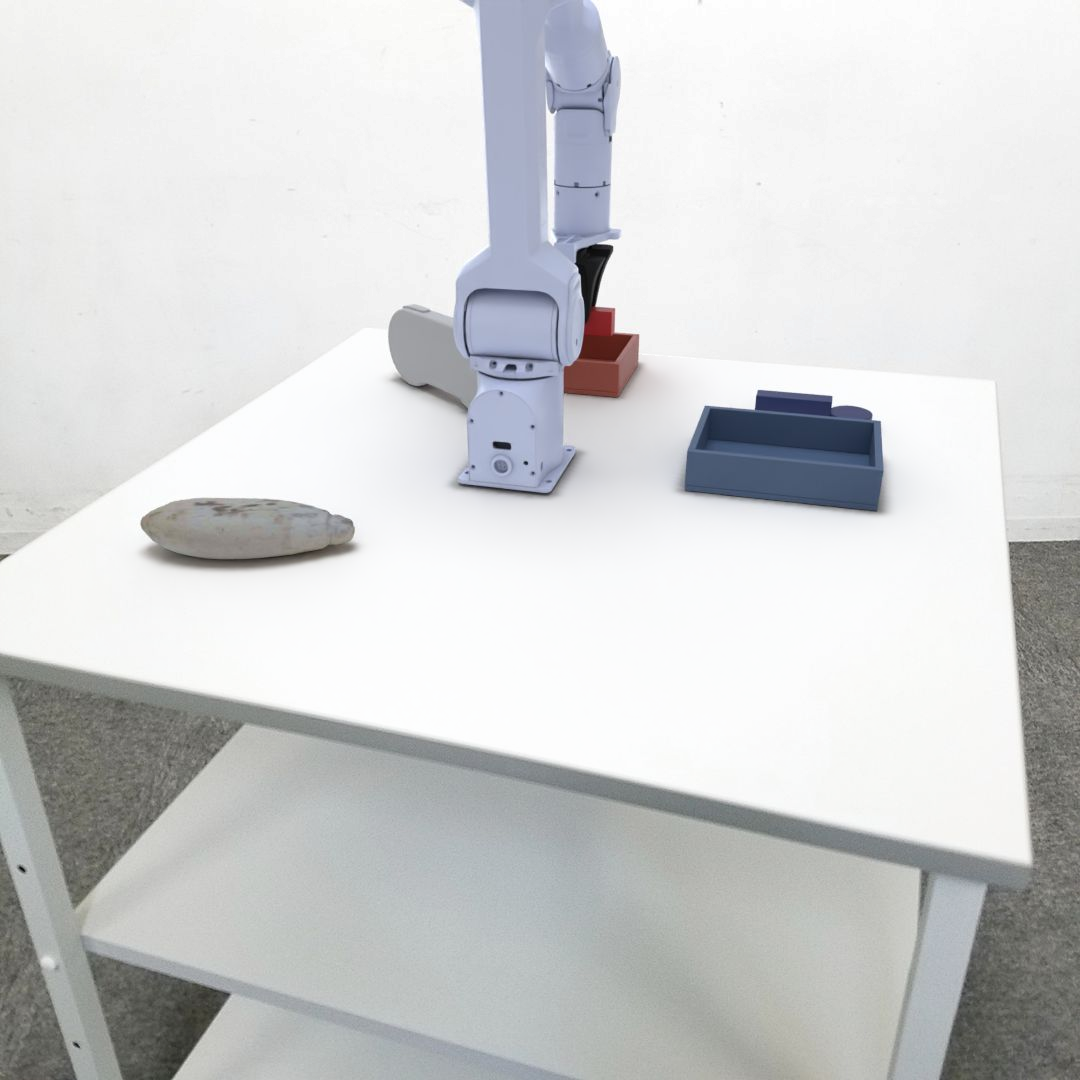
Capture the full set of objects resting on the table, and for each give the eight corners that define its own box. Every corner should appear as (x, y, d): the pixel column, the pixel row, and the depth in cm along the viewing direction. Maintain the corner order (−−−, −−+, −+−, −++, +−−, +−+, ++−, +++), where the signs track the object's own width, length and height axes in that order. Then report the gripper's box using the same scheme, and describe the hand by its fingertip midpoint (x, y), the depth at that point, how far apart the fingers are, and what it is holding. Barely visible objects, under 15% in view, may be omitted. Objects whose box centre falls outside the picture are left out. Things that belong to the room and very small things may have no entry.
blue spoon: (752, 425, 98) (755, 399, 97) (756, 411, 102) (758, 385, 100) (870, 436, 96) (874, 409, 94) (870, 421, 99) (874, 395, 98)
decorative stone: (351, 565, 74) (347, 522, 72) (131, 570, 73) (122, 526, 71) (360, 526, 79) (357, 486, 78) (155, 531, 78) (147, 490, 77)
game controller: (518, 420, 99) (517, 336, 96) (499, 426, 98) (497, 340, 94) (407, 371, 113) (403, 295, 109) (389, 376, 111) (384, 299, 108)
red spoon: (616, 329, 110) (617, 305, 109) (608, 339, 107) (609, 315, 105) (519, 322, 113) (519, 298, 111) (508, 332, 109) (508, 308, 108)
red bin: (618, 397, 105) (619, 364, 104) (476, 385, 109) (475, 352, 107) (638, 364, 115) (639, 334, 113) (507, 354, 118) (506, 324, 117)
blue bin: (877, 511, 81) (883, 470, 80) (684, 490, 85) (687, 451, 83) (875, 458, 91) (881, 420, 89) (701, 441, 94) (704, 405, 93)
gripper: (606, 196, 95) (602, 341, 101) (635, 174, 107) (630, 304, 114) (532, 193, 97) (533, 335, 103) (569, 172, 109) (568, 300, 115)
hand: (580, 319), depth 108 cm, fingers closed on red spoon, 2 cm apart
